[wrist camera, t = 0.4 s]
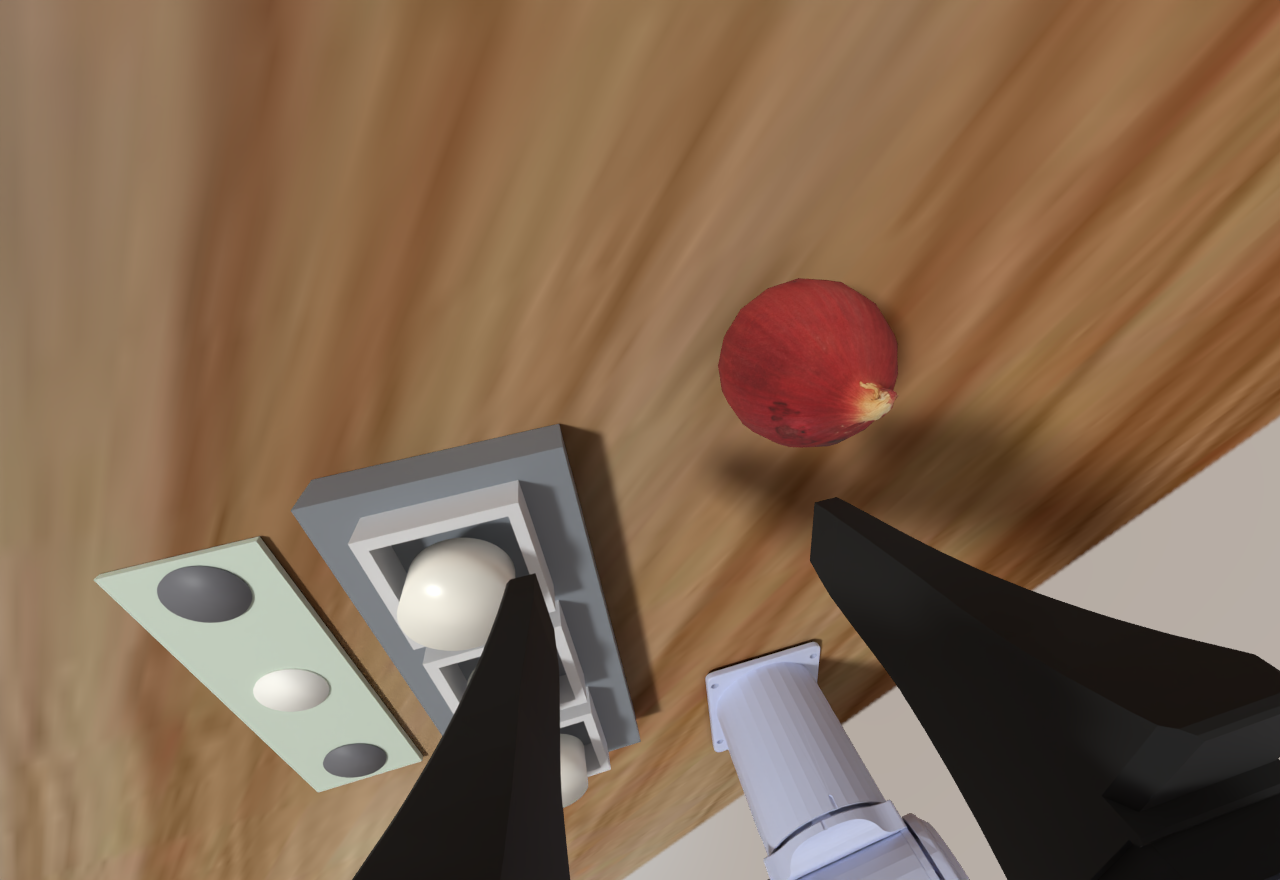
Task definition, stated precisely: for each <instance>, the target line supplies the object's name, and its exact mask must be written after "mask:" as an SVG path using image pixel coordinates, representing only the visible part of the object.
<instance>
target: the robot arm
mask: <svg viewBox="0 0 1280 880" xmlns="http://www.w3.org/2000/svg"><path fill="white" fill-rule="evenodd" d="M810 561H811V563H812V565H813V567H814V569H815V571H816V572H817V574H818V576H819V578H820V580H821V581H822V583H823V585H824V586H825V588H826V590H827V591H828V593H829V595H830V596H831V598H832V599H833V600H834V602H835V603H836V604H837V606H838V607H839V609H840V610H841V611H842V613H843V614H844V615H845V617H846V618H847V619H848V621H849V622H850V623H851V625H852V626H853V627H854V629H855V630H856V631H857V633H858V634H859V635H860V636H861V638H862V639H863V640H864V642H865V643H866V644H867V646H868V647H869V648H870V650H871V651H872V652H873V654H874V655H875V656H876V658H877V659H878V660H879V662H880V663H881V664H882V666H883V667H884V668H885V670H886V671H887V672H888V674H889V675H890V676H891V678H892V679H893V681H894V682H895V684H896V685H897V687H898V688H899V689H900V691H901V692H902V694H903V696H904V697H905V699H906V701H907V702H908V704H909V705H910V707H911V709H912V710H913V712H914V713H915V715H916V716H917V718H918V720H919V721H920V723H921V725H922V726H923V728H924V729H925V731H926V733H927V735H928V736H929V738H930V739H931V741H932V743H933V745H934V746H935V748H936V750H937V751H938V753H939V755H940V757H941V758H942V760H943V762H944V763H945V765H946V767H947V768H948V770H949V772H950V774H951V775H952V777H953V779H954V781H955V783H956V784H957V786H958V788H959V790H960V792H961V793H962V795H963V797H964V799H965V801H966V802H967V804H968V806H969V808H970V810H971V811H972V813H973V815H974V817H975V818H976V820H977V822H978V824H979V826H980V828H981V830H982V831H983V834H984V835H985V837H986V839H987V841H988V843H989V845H990V847H991V849H992V851H993V853H994V855H995V856H996V858H997V860H998V862H999V864H1000V866H1001V868H1002V870H1003V872H1004V874H1005V876H1006V878H1007V880H1280V760H1279V759H1278V758H1279V757H1280V671H1279V670H1278V669H1276V668H1275V667H1273V666H1272V665H1270V664H1269V663H1267V662H1265V661H1264V660H1262V659H1261V658H1260V657H1258V656H1256V655H1254V654H1250V653H1246V652H1242V651H1238V650H1234V649H1230V648H1225V647H1221V646H1217V645H1213V644H1209V643H1204V642H1200V641H1196V640H1192V639H1188V638H1184V637H1179V636H1175V635H1171V634H1167V633H1163V632H1160V631H1157V630H1153V629H1149V628H1146V627H1142V626H1139V625H1135V624H1131V623H1128V622H1125V621H1121V620H1118V619H1114V618H1111V617H1108V616H1105V615H1101V614H1098V613H1095V612H1092V611H1088V610H1086V609H1082V608H1080V607H1077V606H1074V605H1071V604H1068V603H1065V602H1062V601H1059V600H1056V599H1053V598H1050V597H1047V596H1045V595H1042V594H1039V593H1036V592H1034V591H1031V590H1028V589H1026V588H1023V587H1021V586H1018V585H1016V584H1013V583H1011V582H1008V581H1006V580H1003V579H1001V578H998V577H996V576H993V575H991V574H988V573H986V572H984V571H981V570H979V569H977V568H975V567H972V566H970V565H968V564H966V563H964V562H962V561H959V560H957V559H955V558H953V557H951V556H949V555H947V554H944V553H942V552H940V551H938V550H936V549H934V548H932V547H930V546H928V545H926V544H924V543H922V542H920V541H918V540H916V539H914V538H912V537H911V536H909V535H907V534H905V533H903V532H901V531H899V530H897V529H895V528H894V527H892V526H890V525H888V524H886V523H884V522H882V521H881V520H879V519H877V518H875V517H873V516H871V515H869V514H868V513H866V512H864V511H862V510H860V509H858V508H857V507H855V506H853V505H851V504H849V503H847V502H845V501H843V500H841V499H839V498H837V497H835V498H831V499H827V500H823V501H819V502H815V506H814V518H813V530H812V542H811V554H810ZM819 657H820V646H819V645H818V643H817V642H810V643H807V644H803V645H800V646H797V647H793V648H790V649H787V650H783V651H780V652H777V653H774V654H770V655H767V656H764V657H760V658H757V659H754V660H750V661H747V662H744V663H741V664H737V665H734V666H731V667H727V668H724V669H721V670H717V671H714V672H711V673H709V674H708V675H707V676H706V679H705V680H706V689H707V697H708V706H709V715H710V724H711V733H712V741H713V747H714V750H715V751H716V752H722V751H725V750H728V749H729V752H730V755H731V758H732V761H733V763H734V766H735V769H736V772H737V774H738V777H739V780H740V783H741V785H742V788H743V791H744V794H745V796H746V799H747V802H748V805H749V807H750V810H751V813H752V816H753V819H754V821H755V824H756V827H757V830H758V832H759V834H760V837H761V839H762V841H763V843H764V846H765V849H766V852H767V854H768V857H766V858H764V863H765V866H766V869H767V872H768V875H769V877H770V879H768V880H970V879H969V878H968V876H967V875H966V873H965V871H964V870H963V868H962V867H961V865H960V864H959V862H958V861H957V859H956V858H955V856H954V855H953V854H952V852H951V850H950V849H949V847H948V846H947V845H946V843H945V842H944V840H943V839H942V838H941V837H940V835H939V834H938V833H937V831H936V830H935V829H934V828H933V827H932V826H931V825H930V824H929V823H928V822H926V821H924V820H922V819H919V818H917V817H916V816H915V815H914V814H912V813H909V814H907V815H905V816H903V817H902V818H901V816H900V815H899V813H898V811H897V810H896V808H895V806H894V805H893V803H892V801H891V800H887V801H886V800H885V799H884V797H883V795H882V794H881V792H880V790H879V788H878V787H877V785H876V784H875V782H874V780H873V778H872V777H871V775H870V773H869V771H868V770H867V768H866V766H865V765H864V763H863V761H862V759H861V758H860V756H859V755H858V753H857V751H856V749H855V747H854V746H853V744H852V742H851V741H850V739H849V737H848V736H847V734H846V732H845V730H844V729H843V727H842V725H841V724H840V722H839V720H838V718H837V717H836V715H835V713H834V712H833V710H832V708H831V706H830V705H829V703H828V701H827V700H826V698H825V696H824V694H823V693H822V691H821V689H820V688H819V686H818V684H817V678H818V668H819ZM352 880H570V874H569V864H568V855H567V845H566V835H565V824H564V814H563V804H562V790H561V762H560V683H559V665H558V656H557V647H556V639H555V631H554V627H553V624H552V621H551V618H550V615H549V612H548V609H547V606H546V603H545V600H544V597H543V594H542V591H541V588H540V585H539V582H538V579H537V576H536V573H534V574H530V575H526V576H522V577H518V578H514V579H510V580H509V581H508V583H507V584H506V587H505V591H504V594H503V597H502V600H501V603H500V606H499V609H498V612H497V615H496V618H495V621H494V623H493V626H492V629H491V632H490V634H489V637H488V639H487V642H486V644H485V647H484V649H483V651H482V654H481V656H480V659H479V661H478V664H477V666H476V668H475V671H474V673H473V675H472V677H471V679H470V682H469V684H468V686H467V688H466V690H465V692H464V694H463V697H462V699H461V701H460V703H459V705H458V707H457V709H456V711H455V713H454V715H453V717H452V719H451V721H450V723H449V725H448V727H447V729H446V731H445V733H444V734H443V736H442V738H441V740H440V742H439V744H438V745H437V747H436V749H435V751H434V753H433V754H432V756H431V758H430V760H429V761H428V763H427V765H426V767H425V768H424V770H423V772H422V773H421V775H420V777H419V778H418V780H417V782H416V783H415V785H414V787H413V788H412V790H411V792H410V793H409V795H408V797H407V798H406V800H405V801H404V803H403V805H402V806H401V808H400V809H399V811H398V813H397V814H396V816H395V817H394V819H393V820H392V822H391V823H390V825H389V826H388V828H387V829H386V831H385V832H384V834H383V835H382V837H381V838H380V840H379V841H378V843H377V844H376V846H375V847H374V848H373V850H372V851H371V853H370V854H369V856H368V857H367V859H366V860H365V862H364V863H363V865H362V866H361V867H360V869H359V870H358V872H357V873H356V875H355V876H354V878H353V879H352Z"/></svg>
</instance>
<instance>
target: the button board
mask: <svg viewBox="0 0 1280 880" xmlns="http://www.w3.org/2000/svg"><path fill="white" fill-rule="evenodd" d="M291 512H292V513H293V514H294V516H295V517H296V519H297V520H298V522H299V523H300V525H301V526H302V528H303V529H304V531H305V532H306V534H307V535H308V537H309V538H310V540H311V541H312V543H313V544H314V546H315V547H316V549H317V550H318V552H319V553H320V555H321V556H322V558H323V559H324V561H325V562H326V564H327V565H328V566H329V568H330V569H331V571H332V572H333V574H334V575H335V577H336V578H337V580H338V581H339V583H340V584H341V586H342V587H343V589H344V590H345V592H346V593H347V595H348V596H349V598H350V599H351V601H352V602H353V604H354V605H355V607H356V608H357V610H358V611H359V613H360V614H361V616H362V617H363V618H364V620H365V621H366V623H367V624H368V626H369V627H370V629H371V630H372V632H373V633H374V635H375V636H376V638H377V639H378V641H379V642H380V644H381V645H382V647H383V648H384V650H385V651H386V653H387V654H388V656H389V657H390V659H391V660H392V662H393V663H394V665H395V666H396V668H397V669H398V670H399V672H400V673H401V675H402V676H403V678H404V679H405V681H406V682H407V684H408V685H409V687H410V688H411V690H412V691H413V693H414V694H415V696H416V697H417V699H418V700H419V702H420V703H421V705H422V706H423V708H424V709H425V711H426V712H427V714H428V715H429V717H430V718H431V720H432V721H433V722H434V724H435V725H436V727H437V728H438V730H439V731H440V733H441V734H442V736H443V734H444V733H445V731H446V729H447V727H448V725H449V723H450V721H451V719H452V717H453V715H454V713H455V711H456V709H457V707H458V705H459V703H460V701H461V699H462V697H463V694H464V692H465V690H466V688H467V682H468V678H469V676H470V674H471V673H472V672H473V670H474V669H475V668H476V666H477V664H478V661H479V659H480V656H481V654H482V651H483V649H484V647H485V644H484V645H482V646H479V647H476V648H472V649H467V650H460V651H444V650H437V649H432V648H429V647H425V646H423V645H421V644H418V643H417V642H415V641H413V640H412V639H410V638H409V637H408V636H407V635H406V634H405V633H404V632H403V630H402V629H401V627H400V625H399V623H398V619H397V609H398V605H399V601H400V598H401V594H402V591H403V587H404V584H405V580H406V577H407V573H408V570H409V567H410V565H411V563H412V561H413V560H414V558H415V557H416V556H417V555H418V554H419V553H420V552H421V551H423V550H424V549H425V548H427V547H429V546H430V545H432V544H435V543H437V542H440V541H443V540H447V539H452V538H475V539H480V540H484V541H487V542H490V543H492V544H494V545H496V546H498V547H499V548H501V549H502V550H503V551H505V552H506V553H507V555H508V556H509V557H510V558H511V560H512V562H513V564H514V567H515V578H518V577H522V576H526V575H530V574H534V573H536V576H537V579H538V582H539V585H540V588H541V591H542V594H543V597H544V600H545V603H546V606H547V609H548V612H549V615H550V618H551V621H552V624H553V627H554V631H555V639H556V647H557V656H558V665H559V683H560V734H568V735H572V736H575V737H577V738H578V739H580V740H581V741H582V743H583V745H584V751H585V760H586V769H587V777H589V776H592V775H595V774H598V773H601V772H604V771H607V770H611V767H610V760H609V754H608V752H609V751H612V750H615V749H619V748H622V747H625V746H628V745H631V744H635V743H638V742H641V741H640V736H639V731H638V726H637V722H636V717H635V712H634V708H633V704H632V701H631V697H630V693H629V689H628V685H627V681H626V678H625V674H624V670H623V666H622V662H621V658H620V655H619V651H618V647H617V643H616V639H615V636H614V632H613V628H612V624H611V620H610V616H609V613H608V609H607V605H606V601H605V597H604V593H603V590H602V586H601V582H600V578H599V574H598V571H597V567H596V563H595V559H594V555H593V551H592V548H591V544H590V540H589V536H588V532H587V528H586V525H585V521H584V517H583V513H582V509H581V505H580V502H579V498H578V494H577V490H576V486H575V483H574V479H573V475H572V471H571V467H570V463H569V460H568V456H567V452H566V448H565V444H564V440H563V437H562V433H561V429H560V425H559V424H556V425H551V426H547V427H543V428H538V429H534V430H529V431H525V432H521V433H516V434H512V435H507V436H503V437H499V438H494V439H490V440H485V441H481V442H477V443H472V444H468V445H463V446H459V447H455V448H450V449H446V450H442V451H437V452H433V453H428V454H424V455H420V456H415V457H411V458H406V459H402V460H398V461H393V462H389V463H384V464H380V465H376V466H371V467H367V468H362V469H358V470H354V471H349V472H345V473H340V474H336V475H332V476H327V477H323V478H318V479H314V480H311V482H310V483H309V485H308V486H307V488H306V489H305V490H304V492H303V493H302V495H301V496H300V498H299V499H298V501H297V502H296V504H295V505H294V506H293V508H292V509H291Z"/></svg>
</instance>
